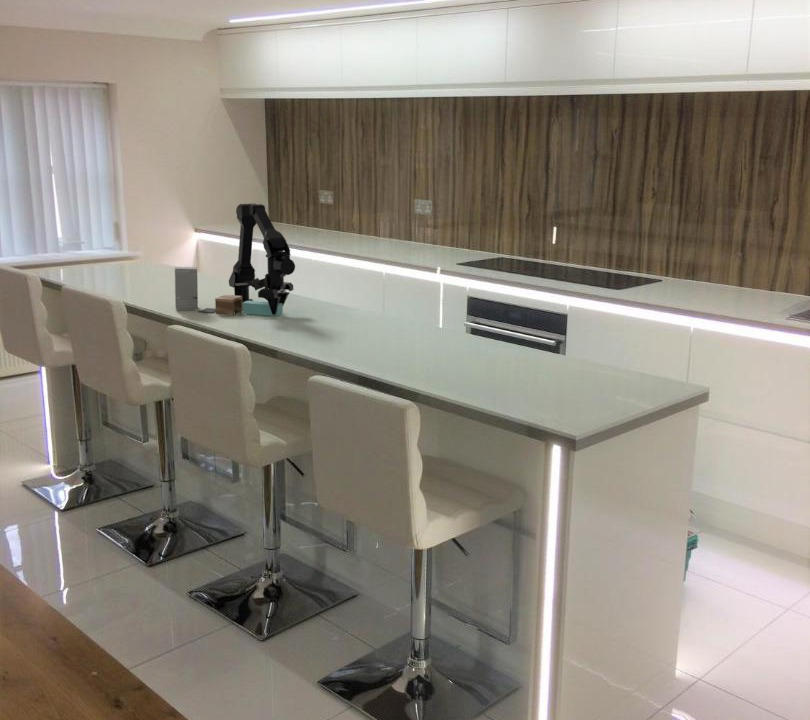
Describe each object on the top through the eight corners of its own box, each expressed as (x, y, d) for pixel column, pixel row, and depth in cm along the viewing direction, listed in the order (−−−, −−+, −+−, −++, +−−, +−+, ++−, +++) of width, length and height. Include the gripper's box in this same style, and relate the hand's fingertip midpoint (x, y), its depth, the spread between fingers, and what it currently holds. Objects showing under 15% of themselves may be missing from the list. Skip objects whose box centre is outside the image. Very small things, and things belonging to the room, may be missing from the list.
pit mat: (207, 308, 339) (207, 307, 339) (221, 309, 338) (221, 309, 338) (198, 312, 333) (198, 311, 333) (212, 313, 331) (212, 312, 331)
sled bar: (247, 311, 333) (247, 300, 332) (282, 313, 330) (282, 303, 329) (242, 313, 329) (242, 302, 328) (277, 316, 326) (277, 305, 325)
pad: (252, 311, 335) (252, 311, 335) (284, 314, 331) (284, 313, 331) (243, 316, 327) (243, 315, 327) (276, 318, 324) (276, 318, 324)
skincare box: (176, 311, 334) (173, 268, 330) (175, 307, 341) (173, 266, 337) (199, 310, 336) (197, 268, 332) (198, 306, 343) (196, 265, 339)
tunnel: (225, 309, 338) (225, 294, 336) (242, 311, 336) (242, 295, 334) (215, 313, 330) (215, 298, 329) (233, 315, 328) (232, 299, 327)
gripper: (265, 266, 335) (266, 307, 339) (243, 273, 317) (245, 316, 321) (293, 267, 332) (294, 309, 336) (273, 275, 314) (273, 318, 318)
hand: (276, 313), depth 328 cm, fingers closed on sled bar, 4 cm apart
